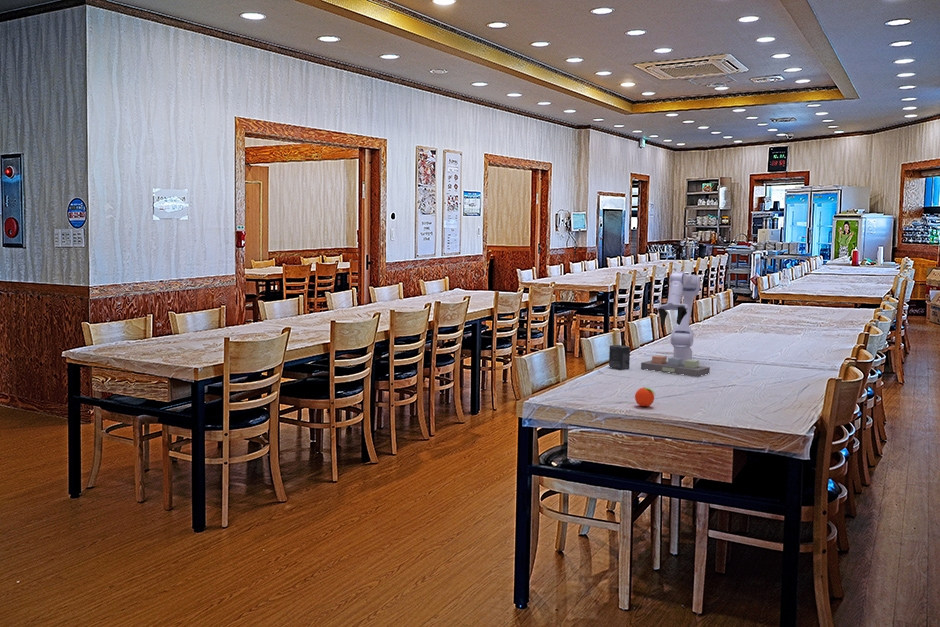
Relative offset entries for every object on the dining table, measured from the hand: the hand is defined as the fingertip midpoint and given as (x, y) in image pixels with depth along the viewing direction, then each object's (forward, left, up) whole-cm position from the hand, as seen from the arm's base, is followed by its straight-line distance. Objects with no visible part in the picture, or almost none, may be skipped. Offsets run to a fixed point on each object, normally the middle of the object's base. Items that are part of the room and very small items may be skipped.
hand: (670, 324), depth 369 cm
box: (+4, -23, -23) cm, 32 cm away
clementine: (+70, +27, -23) cm, 79 cm away
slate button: (-8, -1, -21) cm, 22 cm away
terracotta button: (-8, -9, -21) cm, 24 cm away
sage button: (-8, +7, -21) cm, 23 cm away
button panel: (-8, -1, -22) cm, 24 cm away
